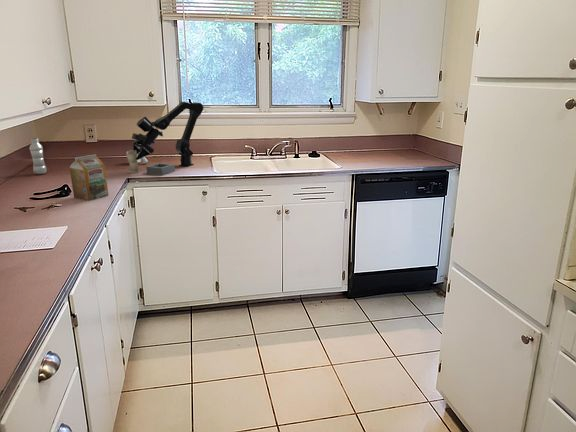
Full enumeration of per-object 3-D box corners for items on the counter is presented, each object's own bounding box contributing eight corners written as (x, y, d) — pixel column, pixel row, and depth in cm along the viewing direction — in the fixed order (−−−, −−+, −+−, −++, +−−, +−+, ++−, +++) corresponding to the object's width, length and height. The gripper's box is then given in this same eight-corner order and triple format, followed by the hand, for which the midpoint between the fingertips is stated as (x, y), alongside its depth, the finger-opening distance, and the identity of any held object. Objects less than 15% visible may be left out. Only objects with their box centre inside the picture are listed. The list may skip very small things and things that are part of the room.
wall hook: (145, 164, 276) (140, 148, 274) (130, 167, 279) (125, 152, 276) (151, 162, 284) (146, 146, 281) (137, 165, 286) (132, 149, 284)
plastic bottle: (50, 173, 254) (44, 137, 248) (39, 175, 248) (33, 139, 242) (42, 172, 257) (36, 137, 251) (31, 174, 251) (25, 138, 245)
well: (159, 169, 264) (158, 163, 263) (174, 171, 260) (174, 164, 259) (146, 173, 254) (146, 166, 253) (162, 175, 250) (162, 168, 249)
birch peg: (134, 171, 260) (131, 149, 256) (140, 172, 258) (138, 150, 254) (128, 172, 256) (126, 151, 252) (134, 173, 254) (132, 151, 251)
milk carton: (88, 201, 200) (82, 158, 195) (74, 197, 206) (67, 156, 200) (108, 195, 209) (103, 155, 203) (94, 192, 214) (88, 153, 208)
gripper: (133, 126, 260) (116, 147, 257) (146, 129, 246) (128, 151, 243) (147, 139, 267) (131, 159, 264) (161, 142, 253) (144, 164, 250)
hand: (133, 158), depth 255 cm, fingers open, 9 cm apart
